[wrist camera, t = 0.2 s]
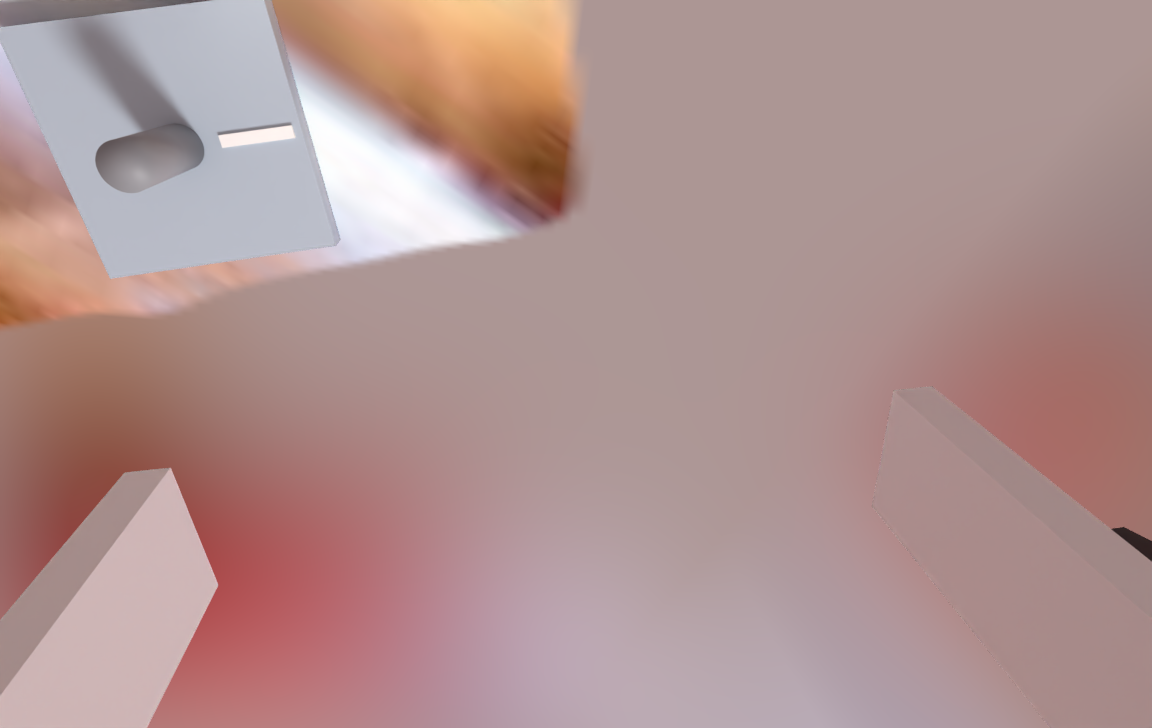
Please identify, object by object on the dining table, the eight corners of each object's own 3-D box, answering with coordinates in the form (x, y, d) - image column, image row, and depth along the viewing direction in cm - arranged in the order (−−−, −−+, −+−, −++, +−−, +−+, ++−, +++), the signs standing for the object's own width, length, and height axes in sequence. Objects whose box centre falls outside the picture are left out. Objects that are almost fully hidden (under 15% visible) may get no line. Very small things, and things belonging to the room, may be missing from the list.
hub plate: (11, 28, 31) (-107, 26, 25) (270, -5, 31) (216, -15, 25) (121, 271, 36) (47, 318, 30) (340, 239, 37) (310, 279, 31)
